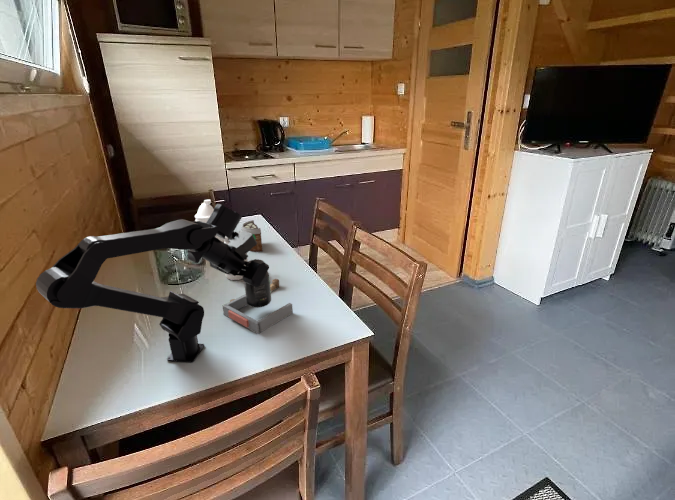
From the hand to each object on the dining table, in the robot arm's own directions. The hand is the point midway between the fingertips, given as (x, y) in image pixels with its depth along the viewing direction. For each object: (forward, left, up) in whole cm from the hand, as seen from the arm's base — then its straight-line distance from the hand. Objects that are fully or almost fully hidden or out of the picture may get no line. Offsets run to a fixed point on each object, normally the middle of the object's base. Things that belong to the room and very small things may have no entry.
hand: (258, 278), depth 103 cm
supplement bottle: (-1, 0, -7) cm, 7 cm away
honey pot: (+54, +40, -11) cm, 68 cm away
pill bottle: (+22, +16, -11) cm, 29 cm away
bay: (-1, +1, -11) cm, 11 cm away
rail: (+8, +4, -11) cm, 14 cm away
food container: (+46, +19, -11) cm, 51 cm away
